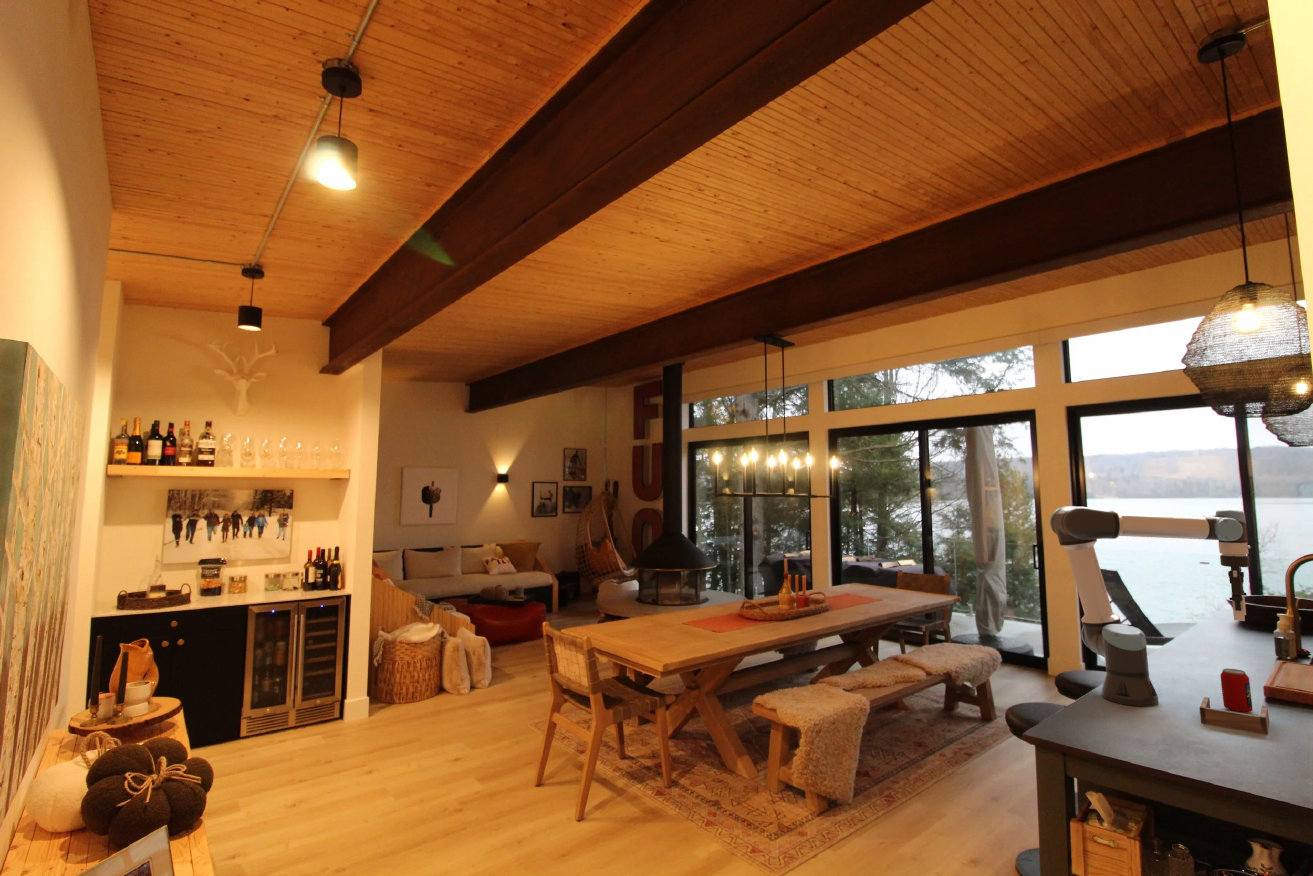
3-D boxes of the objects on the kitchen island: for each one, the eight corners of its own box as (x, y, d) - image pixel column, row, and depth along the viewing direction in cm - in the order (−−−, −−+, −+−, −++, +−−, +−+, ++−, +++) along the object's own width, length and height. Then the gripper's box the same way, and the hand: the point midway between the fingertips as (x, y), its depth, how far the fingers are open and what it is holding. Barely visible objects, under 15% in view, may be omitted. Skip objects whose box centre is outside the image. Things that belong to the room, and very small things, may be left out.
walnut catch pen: (1267, 734, 181) (1265, 718, 181) (1201, 723, 191) (1199, 707, 191) (1269, 722, 190) (1267, 706, 190) (1205, 711, 200) (1204, 696, 200)
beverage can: (1258, 714, 196) (1254, 674, 197) (1233, 713, 198) (1228, 673, 199) (1243, 707, 203) (1238, 668, 204) (1218, 706, 204) (1214, 667, 205)
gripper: (1247, 558, 210) (1254, 624, 208) (1249, 552, 228) (1255, 613, 226) (1217, 557, 215) (1223, 621, 213) (1221, 551, 233) (1227, 611, 231)
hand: (1240, 617), depth 220 cm, fingers open, 13 cm apart
